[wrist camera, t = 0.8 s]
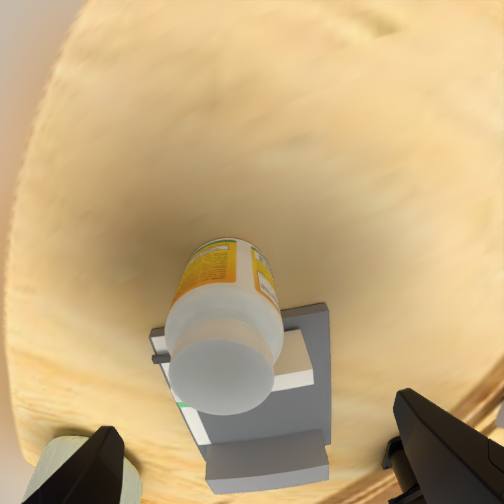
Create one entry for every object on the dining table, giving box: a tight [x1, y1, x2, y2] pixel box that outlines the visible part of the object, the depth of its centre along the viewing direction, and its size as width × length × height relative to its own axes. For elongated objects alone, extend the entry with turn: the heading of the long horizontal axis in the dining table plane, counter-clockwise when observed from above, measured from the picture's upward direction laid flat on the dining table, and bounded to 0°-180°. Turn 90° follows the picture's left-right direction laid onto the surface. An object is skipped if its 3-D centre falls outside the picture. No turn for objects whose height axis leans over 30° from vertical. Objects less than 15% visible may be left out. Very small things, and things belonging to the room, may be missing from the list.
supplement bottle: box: [164, 238, 284, 415], centre depth 16 cm, size 5×5×10 cm
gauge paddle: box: [152, 329, 314, 402], centre depth 19 cm, size 1×10×4 cm, turn 99°
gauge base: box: [149, 303, 331, 494], centre depth 22 cm, size 15×12×5 cm
